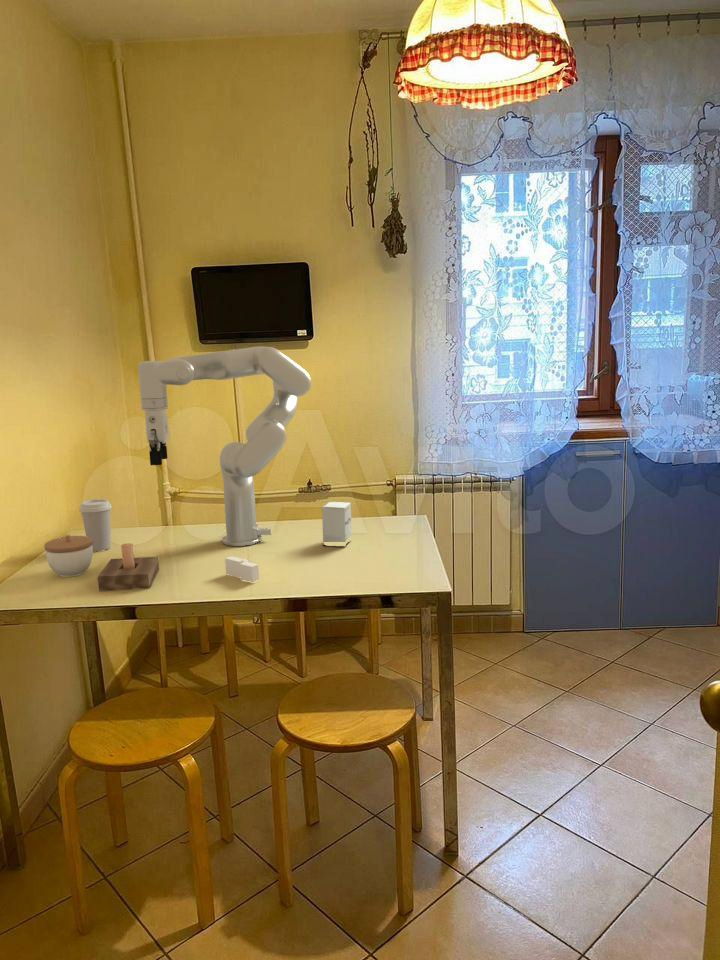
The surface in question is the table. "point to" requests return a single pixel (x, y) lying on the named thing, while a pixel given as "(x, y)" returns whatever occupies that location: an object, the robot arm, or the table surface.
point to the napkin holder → (242, 568)
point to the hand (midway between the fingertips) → (159, 461)
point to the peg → (128, 556)
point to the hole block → (128, 574)
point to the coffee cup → (97, 522)
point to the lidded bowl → (69, 555)
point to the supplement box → (336, 521)
